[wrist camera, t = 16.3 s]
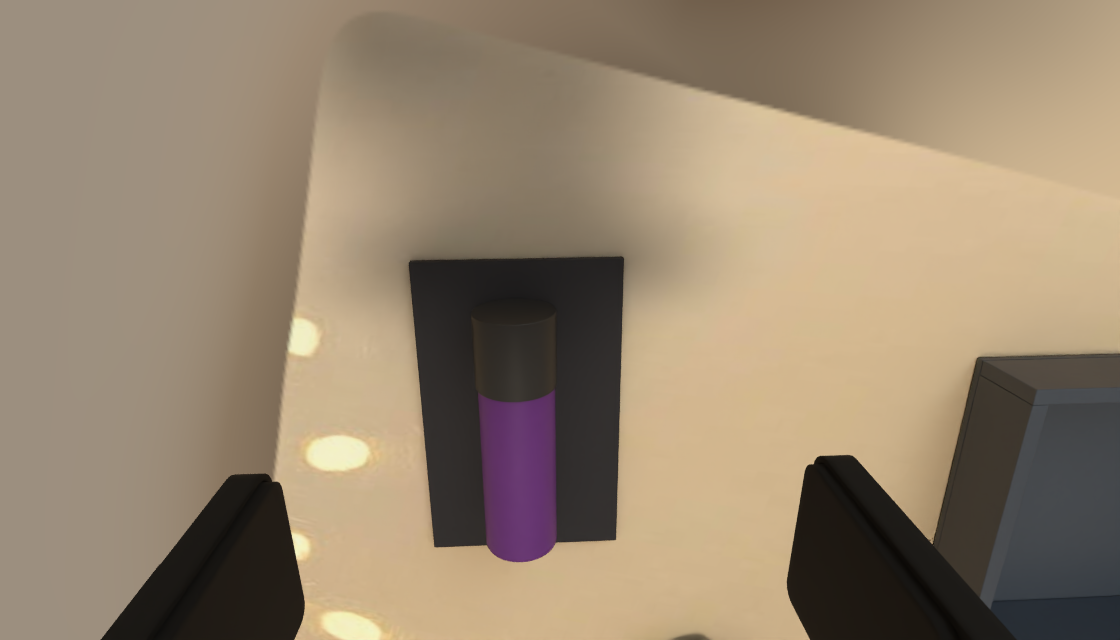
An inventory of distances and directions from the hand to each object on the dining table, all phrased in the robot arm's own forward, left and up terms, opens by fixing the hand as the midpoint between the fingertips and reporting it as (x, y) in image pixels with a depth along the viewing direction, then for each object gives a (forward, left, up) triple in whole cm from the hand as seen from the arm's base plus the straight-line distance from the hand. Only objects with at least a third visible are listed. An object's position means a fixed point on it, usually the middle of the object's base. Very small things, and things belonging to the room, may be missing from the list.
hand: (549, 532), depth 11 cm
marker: (+8, -1, -19) cm, 20 cm away
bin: (+13, +31, -19) cm, 39 cm away
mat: (+7, -1, -19) cm, 20 cm away
